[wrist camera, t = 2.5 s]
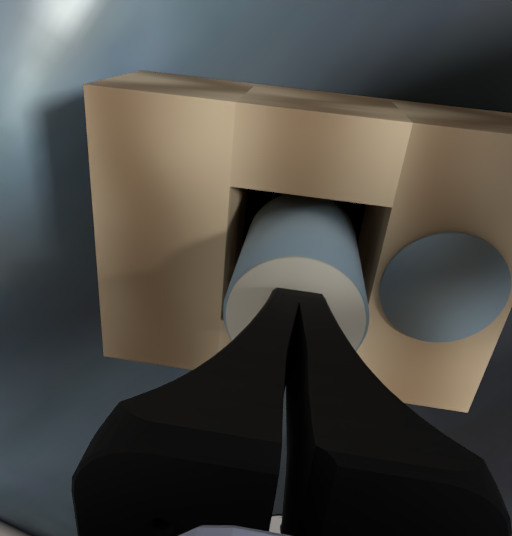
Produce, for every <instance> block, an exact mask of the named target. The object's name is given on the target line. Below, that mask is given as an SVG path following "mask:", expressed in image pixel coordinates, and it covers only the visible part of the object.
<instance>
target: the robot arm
mask: <svg viewBox="0 0 512 536" xmlns="http://www.w3.org/2000/svg"><path fill="white" fill-rule="evenodd" d="M285 386H286V423H287V464H286V479H285V490H284V502H283V512H282V523H281V534H280V533H274V532H269V529H270V523H271V518H272V512H273V506H274V500H275V495H276V489H277V483H278V477H279V470H280V460H281V448H282V420H283V397H284V391H285ZM72 497H73V504H74V512H75V519H76V526H77V533H78V536H511V534H512V530H511V521H510V517H509V514H508V511H507V509H506V506H505V504H504V501H503V499H502V496H501V494H500V492H499V489H498V487H497V485H496V483H495V481H494V479H493V477H492V475H491V473H490V471H489V469H488V467H487V465H486V463H485V461H484V459H482V458H480V457H479V456H477V455H476V454H474V453H473V452H471V451H469V450H468V449H466V448H465V447H463V446H462V445H460V444H458V443H457V442H455V441H454V440H452V439H451V438H449V437H447V436H446V435H444V434H443V433H441V432H440V431H439V430H437V429H436V428H435V427H433V426H432V425H431V424H429V423H428V422H427V421H425V420H424V419H423V418H421V417H420V416H419V415H418V414H416V413H415V412H414V411H413V410H411V409H410V408H409V407H408V406H407V405H406V404H404V403H403V402H402V401H401V400H400V399H399V398H398V397H397V396H396V395H394V394H393V393H392V392H391V391H390V390H389V389H388V388H387V387H386V386H385V385H384V384H383V383H382V382H381V381H380V380H379V379H378V378H377V376H376V375H375V374H374V373H373V372H372V371H371V370H370V369H369V368H368V367H367V365H366V364H365V363H364V362H363V360H362V359H361V358H360V356H359V355H358V353H357V352H356V351H355V349H354V348H353V346H352V345H351V344H350V342H349V341H348V339H347V337H346V336H345V334H344V333H343V331H342V329H341V328H340V326H339V324H338V323H337V321H336V319H335V317H334V315H333V313H332V311H331V309H330V307H329V305H328V303H327V301H326V299H325V297H324V296H323V294H320V293H313V292H306V291H299V290H292V289H285V288H278V287H277V288H275V289H274V290H272V293H271V295H270V296H269V298H268V300H267V301H266V303H265V304H264V306H263V307H262V308H261V310H260V311H259V312H258V313H257V315H256V316H255V317H254V318H253V319H252V321H251V322H250V323H249V324H248V325H247V326H246V327H245V328H244V329H243V330H242V331H241V332H240V333H239V334H238V335H237V336H236V337H235V338H234V339H233V340H232V341H231V342H230V343H229V344H228V345H227V346H225V347H224V348H223V349H222V350H220V351H219V352H218V353H217V354H215V355H214V356H213V357H211V358H210V359H209V360H207V361H206V362H204V363H203V364H201V365H200V366H198V367H197V368H195V369H194V370H192V371H190V372H189V373H187V374H185V375H183V376H181V377H180V378H178V379H176V380H174V381H172V382H169V383H167V384H165V385H163V386H161V387H158V388H156V389H154V390H151V391H148V392H146V393H143V394H140V395H138V396H135V397H132V398H130V399H127V400H124V401H121V402H119V403H118V405H117V406H116V407H115V408H114V410H113V411H112V412H111V414H110V415H109V416H108V417H107V419H106V420H105V422H104V423H103V424H102V426H101V427H100V428H99V430H98V431H97V432H96V434H95V436H94V437H93V439H92V440H91V442H90V444H89V446H88V448H87V450H86V452H85V453H84V455H83V457H82V459H81V461H80V463H79V465H78V467H77V469H76V471H75V473H74V475H73V477H72Z"/></svg>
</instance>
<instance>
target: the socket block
mask: <svg viewBox="0 0 512 536" xmlns="http://www.w3.org/2000/svg"><path fill="white" fill-rule="evenodd" d="M83 88H84V101H85V114H86V128H87V141H88V154H89V167H90V181H91V194H92V207H93V221H94V234H95V247H96V260H97V274H98V287H99V300H100V313H101V327H102V340H103V353H104V356H106V357H112V358H119V359H125V360H132V361H138V362H145V363H151V364H157V365H164V366H170V367H177V368H183V369H190V370H194V369H195V368H197V367H198V366H200V365H201V364H203V363H204V362H206V361H207V360H209V359H210V358H211V357H213V356H214V355H215V354H217V353H218V352H219V351H220V350H222V349H223V348H224V347H225V346H227V345H228V344H229V343H230V342H231V341H232V340H231V339H230V337H229V335H228V333H227V330H226V327H225V324H224V318H223V305H224V299H225V296H226V293H227V290H228V287H229V284H230V282H231V279H232V276H233V273H234V270H235V267H236V264H237V262H238V259H239V256H240V253H241V250H242V243H243V232H244V220H245V209H246V198H247V189H253V190H261V191H269V192H276V193H284V194H292V195H300V196H307V197H315V198H323V199H331V200H338V201H346V202H354V203H361V204H366V208H365V212H364V217H363V221H362V226H361V231H360V235H359V240H358V251H359V256H360V262H361V268H362V273H363V279H364V284H365V290H366V296H367V301H368V307H369V326H368V330H367V333H366V336H365V338H364V340H363V342H362V344H361V345H360V347H359V348H358V350H357V351H356V352H357V353H358V355H359V356H360V358H361V359H362V360H363V362H364V363H365V364H366V365H367V367H368V368H369V369H370V370H371V371H372V372H373V373H374V374H375V375H376V376H377V378H378V379H379V380H380V381H381V382H382V383H383V384H384V385H385V386H386V387H387V388H388V389H389V390H390V391H391V392H392V393H393V394H394V395H396V396H397V397H398V398H399V399H400V400H401V401H402V402H403V403H409V404H415V405H421V406H428V407H434V408H441V409H447V410H454V411H460V412H466V413H468V410H469V408H470V406H471V403H472V401H473V398H474V396H475V394H476V391H477V389H478V386H479V384H480V382H481V379H482V377H483V374H484V372H485V369H486V367H487V365H488V362H489V360H490V357H491V355H492V353H493V350H494V348H495V345H496V343H497V341H498V338H499V336H500V333H501V331H502V329H503V326H504V324H505V321H506V319H507V317H508V314H509V312H510V309H511V307H512V113H507V112H498V111H490V110H481V109H472V108H463V107H455V106H446V105H437V104H428V103H420V102H411V101H402V100H394V99H385V98H376V97H367V96H359V95H350V94H341V93H332V92H324V91H315V90H306V89H298V88H289V87H280V86H271V85H263V84H254V83H245V82H236V81H228V80H219V79H210V78H202V77H193V76H184V75H175V74H167V73H158V72H149V71H138V72H133V73H129V74H125V75H120V76H116V77H112V78H108V79H103V80H99V81H95V82H90V83H86V84H83Z"/></svg>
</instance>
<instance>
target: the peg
mask: <svg viewBox="0 0 512 536" xmlns="http://www.w3.org/2000/svg"><path fill="white" fill-rule="evenodd" d="M277 287H278V288H285V289H292V290H299V291H306V292H313V293H320V294H323V296H324V297H325V299H326V301H327V303H328V305H329V307H330V309H331V311H332V313H333V315H334V317H335V319H336V321H337V323H338V324H339V326H340V328H341V329H342V331H343V333H344V334H345V336H346V337H347V339H348V341H349V342H350V344H351V345H352V346H353V348H354V349H355V351H357V350H358V348H359V347H360V345H361V344H362V342H363V340H364V338H365V336H366V333H367V330H368V326H369V307H368V301H367V296H366V290H365V284H364V279H363V273H362V268H361V262H360V256H359V251H358V245H357V240H356V234H355V230H354V226H353V224H352V222H351V220H350V218H349V216H348V215H347V213H346V212H345V211H344V210H343V209H342V208H341V207H340V206H339V205H338V204H337V203H335V202H334V201H332V200H331V199H323V198H315V197H307V196H300V195H292V194H284V195H281V196H278V197H276V198H274V199H272V200H271V201H269V202H268V203H266V204H265V205H264V206H263V207H262V208H261V209H260V210H259V211H258V212H257V214H256V215H255V217H254V218H253V220H252V222H251V225H250V227H249V230H248V233H247V236H246V239H245V242H244V244H243V247H242V250H241V253H240V256H239V259H238V262H237V264H236V267H235V270H234V273H233V276H232V279H231V282H230V284H229V287H228V290H227V293H226V296H225V299H224V305H223V318H224V324H225V327H226V330H227V333H228V335H229V337H230V339H231V340H233V339H234V338H235V337H236V336H237V335H238V334H239V333H240V332H241V331H242V330H243V329H244V328H245V327H246V326H247V325H248V324H249V323H250V322H251V321H252V319H253V318H254V317H255V316H256V315H257V313H258V312H259V311H260V310H261V308H262V307H263V306H264V304H265V303H266V301H267V300H268V298H269V296H270V295H271V293H272V290H274V289H275V288H277Z"/></svg>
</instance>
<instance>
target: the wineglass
mask: <svg viewBox="0 0 512 536" xmlns="http://www.w3.org/2000/svg"><path fill="white" fill-rule="evenodd" d="M281 523H282V515H274V516H272V518H271V523H270V529H269V532H274V533H280V534H281Z"/></svg>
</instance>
